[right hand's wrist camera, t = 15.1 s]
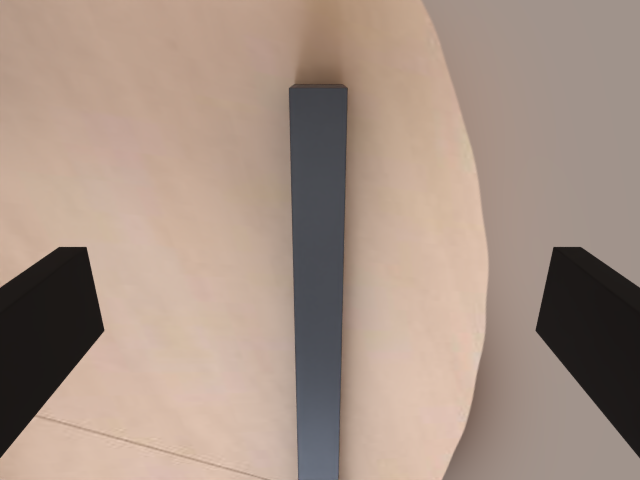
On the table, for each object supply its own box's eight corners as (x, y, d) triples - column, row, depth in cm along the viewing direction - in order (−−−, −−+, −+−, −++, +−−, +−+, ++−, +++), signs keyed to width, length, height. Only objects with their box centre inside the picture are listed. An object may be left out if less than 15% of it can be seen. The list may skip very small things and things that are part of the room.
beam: (293, 84, 44) (288, 87, 37) (343, 84, 44) (347, 87, 37) (303, 566, 72) (301, 620, 65) (333, 566, 72) (335, 619, 65)
